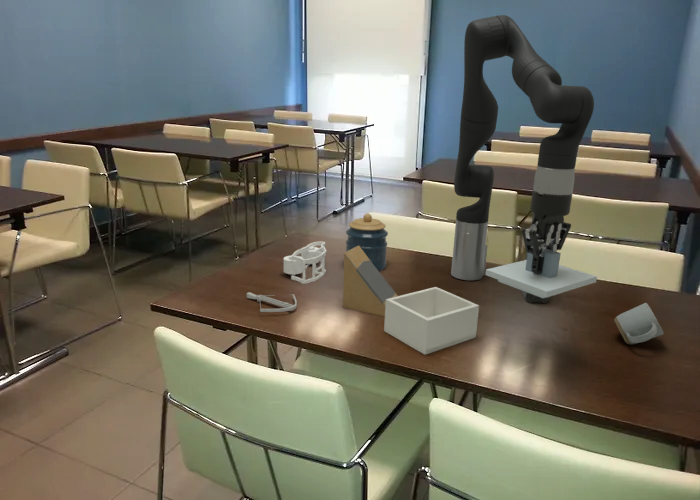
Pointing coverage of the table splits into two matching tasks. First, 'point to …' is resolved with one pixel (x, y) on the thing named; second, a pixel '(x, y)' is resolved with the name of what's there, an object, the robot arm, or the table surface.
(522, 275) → the lid
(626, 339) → the ceramic mug
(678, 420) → the table surface
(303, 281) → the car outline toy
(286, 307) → the crossbow
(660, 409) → the table surface
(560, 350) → the table surface
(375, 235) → the canister
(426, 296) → the box
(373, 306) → the sandwich container
